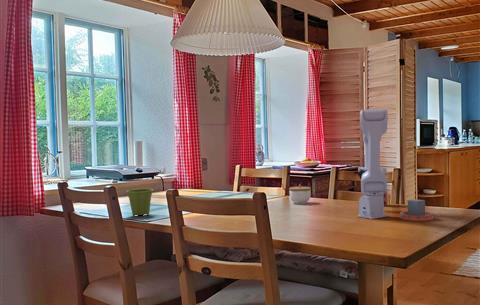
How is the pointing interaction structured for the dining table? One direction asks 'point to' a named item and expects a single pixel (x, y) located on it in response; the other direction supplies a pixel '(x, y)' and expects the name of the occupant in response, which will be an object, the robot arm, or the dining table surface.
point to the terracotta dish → (416, 216)
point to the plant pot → (140, 200)
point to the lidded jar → (300, 194)
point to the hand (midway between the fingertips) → (372, 189)
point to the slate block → (416, 207)
